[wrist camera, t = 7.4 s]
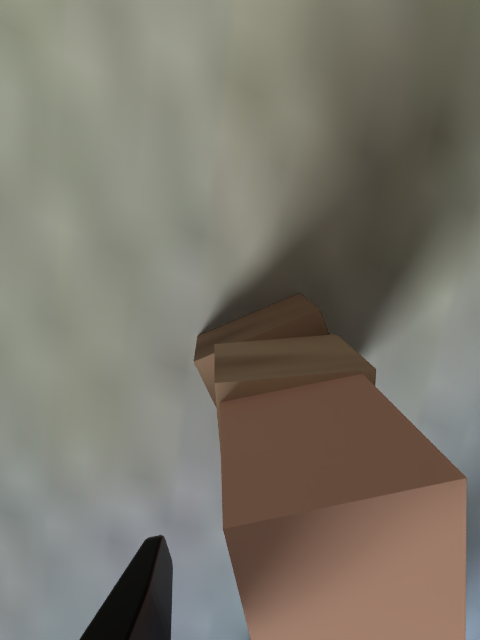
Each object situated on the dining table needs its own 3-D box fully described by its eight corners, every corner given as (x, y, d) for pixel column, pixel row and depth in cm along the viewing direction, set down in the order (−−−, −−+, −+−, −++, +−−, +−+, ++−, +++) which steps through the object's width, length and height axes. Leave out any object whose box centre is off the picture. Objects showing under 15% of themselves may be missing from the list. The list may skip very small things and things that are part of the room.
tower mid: (334, 439, 15) (368, 500, 12) (223, 450, 15) (226, 516, 12) (336, 334, 14) (376, 369, 10) (214, 344, 14) (214, 383, 10)
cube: (372, 490, 12) (465, 645, 7) (245, 516, 12) (263, 690, 7) (362, 373, 10) (466, 477, 6) (219, 402, 10) (222, 529, 6)
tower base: (332, 383, 18) (359, 419, 15) (239, 421, 19) (244, 465, 15) (298, 292, 17) (319, 309, 13) (197, 334, 17) (193, 361, 14)
